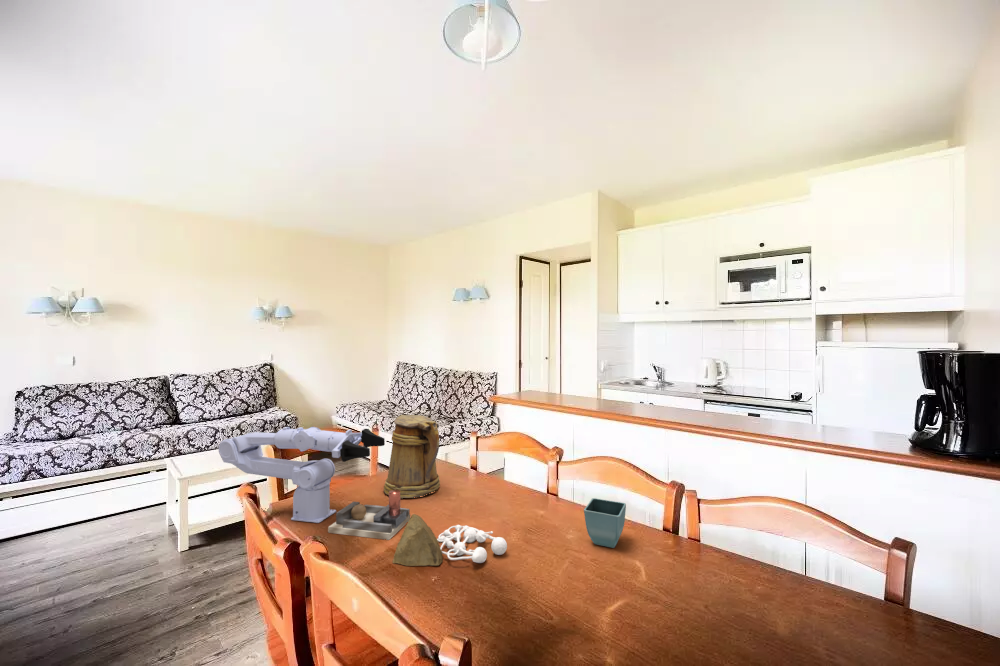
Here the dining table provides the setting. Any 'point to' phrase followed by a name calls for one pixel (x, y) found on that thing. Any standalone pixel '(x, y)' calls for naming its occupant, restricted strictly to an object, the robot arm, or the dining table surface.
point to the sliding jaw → (391, 511)
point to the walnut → (358, 512)
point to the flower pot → (605, 521)
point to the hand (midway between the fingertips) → (376, 447)
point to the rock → (418, 545)
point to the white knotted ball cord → (470, 536)
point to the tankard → (413, 457)
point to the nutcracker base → (364, 523)
